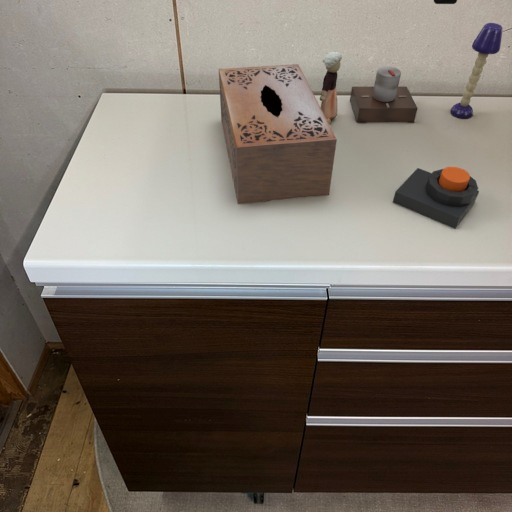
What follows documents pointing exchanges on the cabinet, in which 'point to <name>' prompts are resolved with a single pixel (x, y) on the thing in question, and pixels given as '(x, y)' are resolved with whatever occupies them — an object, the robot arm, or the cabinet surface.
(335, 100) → the grandmother figurine
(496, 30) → the toy lamp
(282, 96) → the tissue box cover
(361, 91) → the dimmer panel
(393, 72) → the dimmer knob
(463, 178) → the lamp switch
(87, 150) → the cabinet surface
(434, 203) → the switch block
